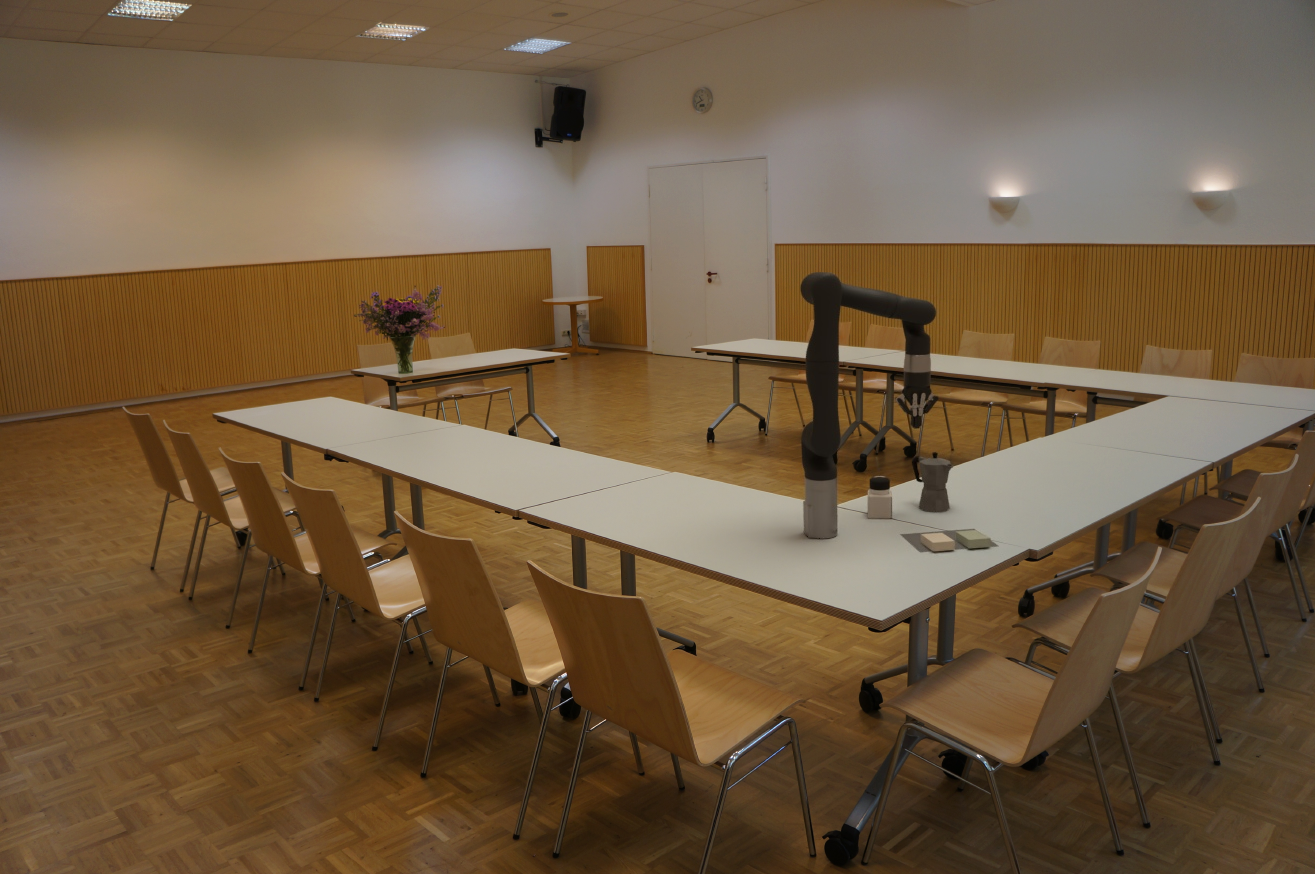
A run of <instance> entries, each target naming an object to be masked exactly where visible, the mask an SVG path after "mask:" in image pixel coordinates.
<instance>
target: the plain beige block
mask: <svg viewBox="0 0 1315 874" xmlns="http://www.w3.org/2000/svg"><path fill="white" fill-rule="evenodd" d="M921 543H922V544H923V545H925V546H926V547H928V548H929V549H931V550H932V552H943V551H944V552H945V551H956V550H955V541H954V540H952V539H951V538H949V537H948V536H946V535H945V534H943V533H931V534H921Z"/></svg>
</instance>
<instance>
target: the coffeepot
mask: <svg viewBox="0 0 1315 874" xmlns="http://www.w3.org/2000/svg"><path fill="white" fill-rule="evenodd" d="M931 454H932V457H930V458H926V457H923V456H919V455H917V456H914V458H913V459H912V460H911V466H912V470H913V474H914V476H915V479H916V482H917V483H918V482H919V483H923V487H922V489H921V494H920V501H919V504H918V508H919V509H920V510H921V511H924V512H928V513H943V512H947V511H949V509H950V507H951V506H950V502H949V501H950V499H949V495H948V488H947V483H948V479H949V475H950V474H949V473H950V471H951V469H952V468H954V465H953V463H951V461H950V460H948V459H945V458H940V457H938V454H939V453H938V452H937V451H933V452H932V453H931ZM918 463H919V467H918ZM918 468H919V469H918ZM920 476H921V478H920Z"/></svg>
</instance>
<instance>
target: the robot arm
mask: <svg viewBox="0 0 1315 874" xmlns="http://www.w3.org/2000/svg"><path fill="white" fill-rule="evenodd" d="M799 289H800V295H801V296H802V298H803V299H804V301H806V302H807V303H808V304H810V305H812V306H813V329H812V332H811V334H810V335H811V336H810V338H809V340H808V341H809V342H808V343H807V348H806V351H805V380H806V385H807V389H808V393H809V396H810V400H811V404H812V421H810V422H808V423H807V424H806V425H805V426H804V428H803V430H802V432H801V438H800V441H801V442H800V447H801V463H802V464H801V465H802V467H803V472H804V500H803V503H802V504H803V505H802V507H803V508H802V511H803V514H802V515H803V516H802V517H803V520H802V521H803V533H804V534H805V535H806V537H807V536H808V537H807V539H819V538H820V540H821V539H832V538H834V537H836V536H837V535H838V528H839V526H838V468H837V465H836V463H835V461H834V457H833V455H834V454H836V453H837V451H838V450H839V448H840V444H841V441H842V440H841V428H840V427H841V426H840V418H839V417H840V415H839V386H840V385H839V382H840V381H839V379H840V377H839V376H840V349H839V348H840V314H841V309H842V308H841V307H845V308H849V309H854V310H856V311H861V312H863V313H867V314H870V315H874V316H878V317H883V318H887V319H892V320H901V324H902V330H903V333H904V338H905V343H904V345H905V346H904V349H905V350H904V360H903V389H902V390H901V393H900V395H898V396H895V397H894V401H895V402H896V404H898V406H899V407H900V408H901V410H902V411H903V412H904V413H905V414H907V415H909V416H910V427H912V429H914V430H915V429H916V430H917V429H920V427H922V423H923V421H922V420H923V419H922V418H923V415H925V414H928V413H929V412H930V411H931V410H932V408H933V407H934V406H935V404H936V403H937V402H938V400H939V399H940V398H939V396H938V395H936V394H934V393H933V391H932V389H931V373H932V372H931V371H932V360H931V336H930V335H929V334H928V333H926V332H927V331H925V326H927V325H930V324H931V323H932V322H933V321H934V320H935V319H936V315H937V311H936V310H937V309H936V308H935V306H934V304H933V303H932V302H930V301H928V300H924V299H920V298H914V297H908V296H903V295H900V294H897V293H894V292H893V293H892V292H889V291H885V290H880V289H876V288H868V287H861V286H856V285H851V284H846V283H843V282H842V281H841V280H840V278H839V277H838V276H837V275H836V274H834V273H832V272H828V271H827V272H826V271H825V272H824V271H816V272H815V271H814V272H812V273H810V274H807V275H806V276H805V277H803V279H802V281H801V284H800V287H799ZM905 401H907V403H908V406H907V404H906V403H905ZM926 401H927V402H926Z"/></svg>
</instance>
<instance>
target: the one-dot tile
mask: <svg viewBox="0 0 1315 874" xmlns="http://www.w3.org/2000/svg"><path fill="white" fill-rule="evenodd" d="M956 540H957V541H958V542H960V543H961V544H963V545H964V546H966V547H968V548H971V549H980V548H982V547H984V548H992V547H991V541H992V539H991V537H989V536H987V535H986V534H984V533H982V532H981V531H979V530H978V529H975V530H969V531H956ZM982 549H983V548H982Z"/></svg>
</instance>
